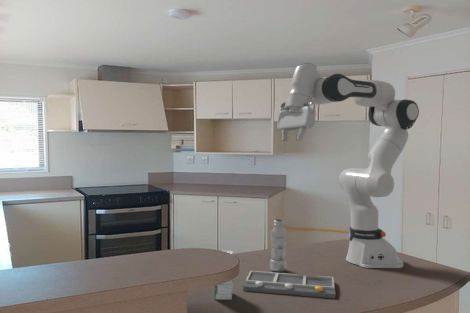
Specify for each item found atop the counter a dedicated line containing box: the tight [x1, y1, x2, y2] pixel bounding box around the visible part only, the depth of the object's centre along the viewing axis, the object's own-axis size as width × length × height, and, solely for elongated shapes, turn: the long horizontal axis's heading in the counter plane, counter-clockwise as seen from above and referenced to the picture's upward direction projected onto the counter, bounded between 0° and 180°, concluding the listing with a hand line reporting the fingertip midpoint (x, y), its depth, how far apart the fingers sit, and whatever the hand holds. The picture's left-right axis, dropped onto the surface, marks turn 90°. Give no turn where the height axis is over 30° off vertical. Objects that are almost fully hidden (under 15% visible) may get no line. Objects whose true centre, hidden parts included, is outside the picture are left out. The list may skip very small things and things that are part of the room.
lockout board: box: [242, 270, 336, 299], centre depth 137 cm, size 30×14×3 cm, turn 78°
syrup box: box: [213, 250, 234, 301], centre depth 128 cm, size 6×6×14 cm
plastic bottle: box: [269, 218, 288, 273], centre depth 152 cm, size 6×7×20 cm
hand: (291, 140), depth 145 cm, fingers open, 8 cm apart
